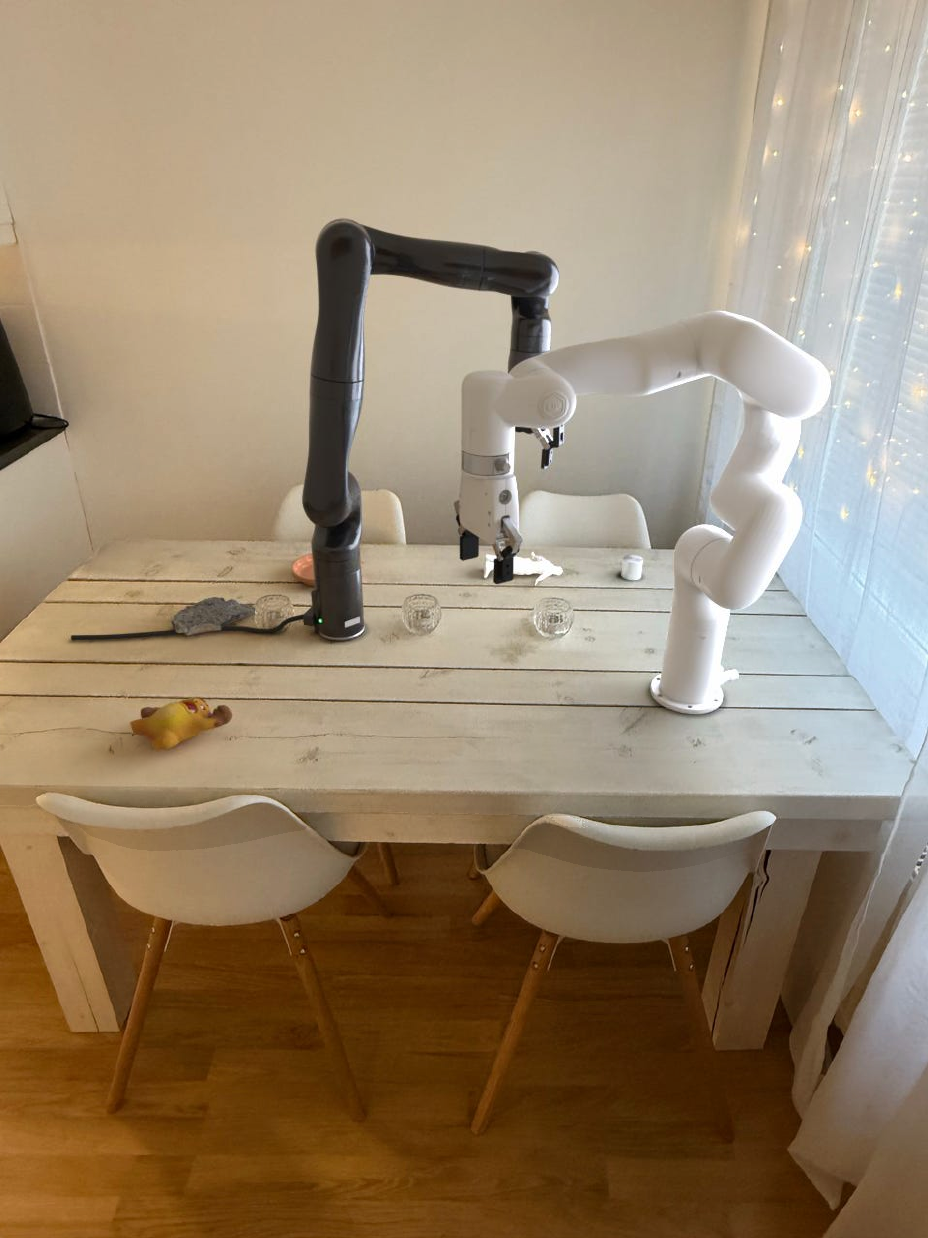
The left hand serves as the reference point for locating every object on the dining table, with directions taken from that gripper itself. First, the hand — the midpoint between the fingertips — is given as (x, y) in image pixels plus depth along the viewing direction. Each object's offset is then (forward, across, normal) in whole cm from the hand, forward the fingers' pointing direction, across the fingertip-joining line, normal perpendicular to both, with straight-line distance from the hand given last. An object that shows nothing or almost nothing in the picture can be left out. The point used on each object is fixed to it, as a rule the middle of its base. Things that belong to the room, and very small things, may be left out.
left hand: (523, 464), depth 152 cm
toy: (+35, -33, -60) cm, 77 cm away
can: (+34, +15, +34) cm, 50 cm away
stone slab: (+35, -56, -28) cm, 71 cm away
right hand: (+6, +8, -34) cm, 35 cm away
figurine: (+34, -8, +23) cm, 42 cm away
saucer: (+35, -47, +1) cm, 59 cm away
